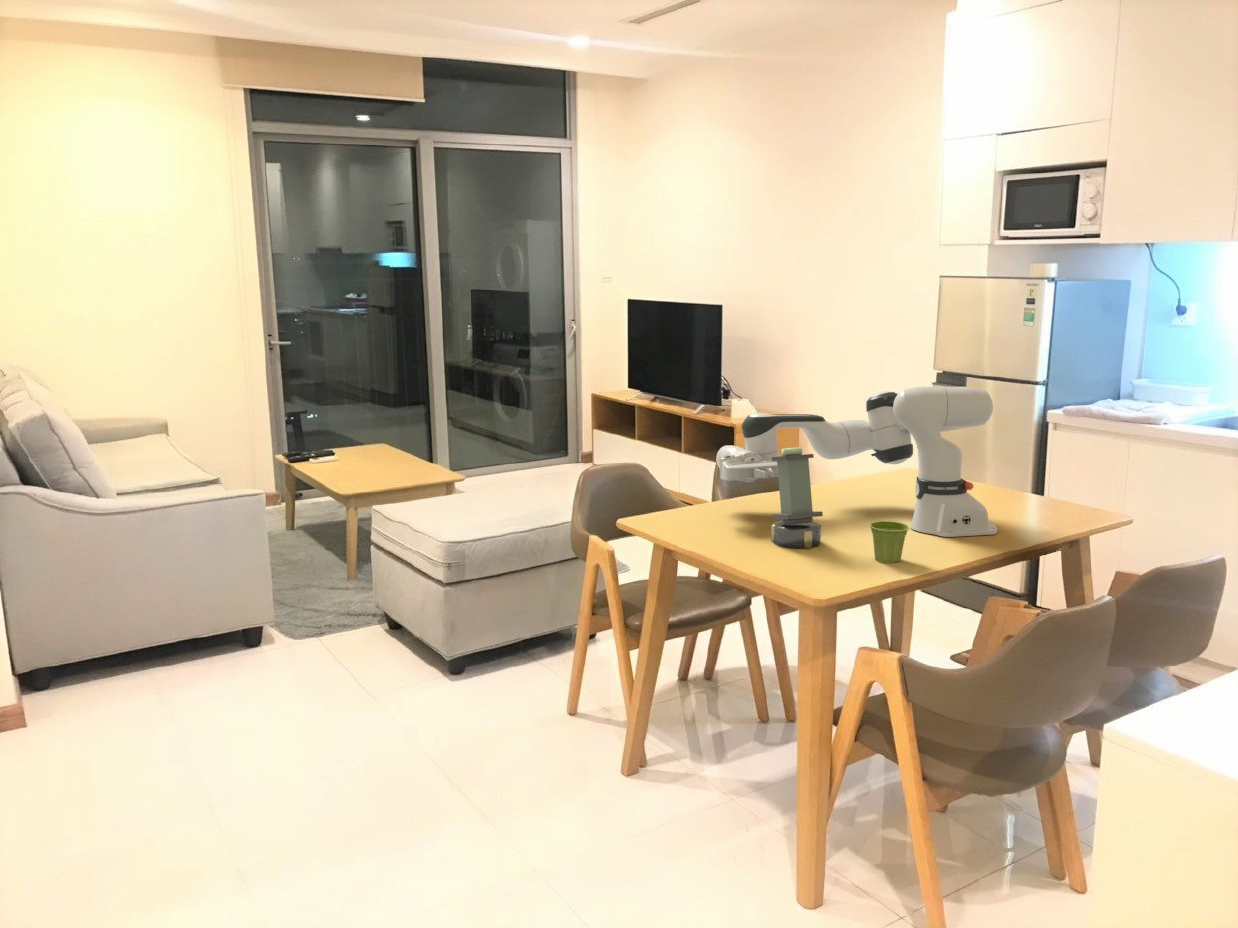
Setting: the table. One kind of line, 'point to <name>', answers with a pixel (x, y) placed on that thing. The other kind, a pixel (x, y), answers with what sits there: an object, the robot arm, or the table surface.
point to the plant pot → (888, 540)
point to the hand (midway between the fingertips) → (769, 475)
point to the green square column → (794, 487)
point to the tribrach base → (796, 535)
